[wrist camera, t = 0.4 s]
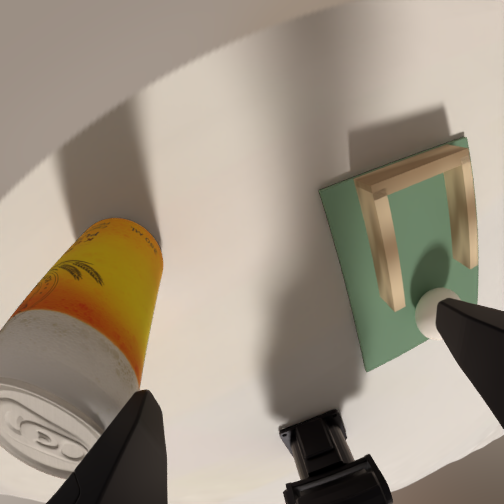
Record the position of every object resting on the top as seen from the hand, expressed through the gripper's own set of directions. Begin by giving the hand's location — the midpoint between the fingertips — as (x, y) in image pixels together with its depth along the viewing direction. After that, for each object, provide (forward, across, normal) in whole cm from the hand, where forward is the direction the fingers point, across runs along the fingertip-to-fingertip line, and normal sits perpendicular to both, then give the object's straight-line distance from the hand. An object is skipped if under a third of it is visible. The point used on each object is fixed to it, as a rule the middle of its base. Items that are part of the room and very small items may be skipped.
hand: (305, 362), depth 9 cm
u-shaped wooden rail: (+14, -13, +2) cm, 19 cm away
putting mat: (+14, -14, +7) cm, 21 cm away
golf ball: (+11, -14, +11) cm, 21 cm away
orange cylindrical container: (+14, +9, 0) cm, 16 cm away
